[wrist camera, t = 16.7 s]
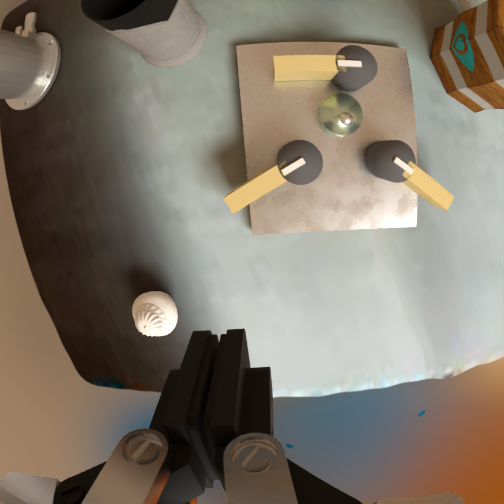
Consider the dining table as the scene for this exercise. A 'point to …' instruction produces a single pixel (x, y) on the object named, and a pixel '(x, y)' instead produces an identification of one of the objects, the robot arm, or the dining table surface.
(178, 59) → the glass holder
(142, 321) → the white carved ornament
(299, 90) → the base plate
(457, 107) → the dining table surface
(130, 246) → the dining table surface
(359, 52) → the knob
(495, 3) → the mug
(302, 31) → the dining table surface
